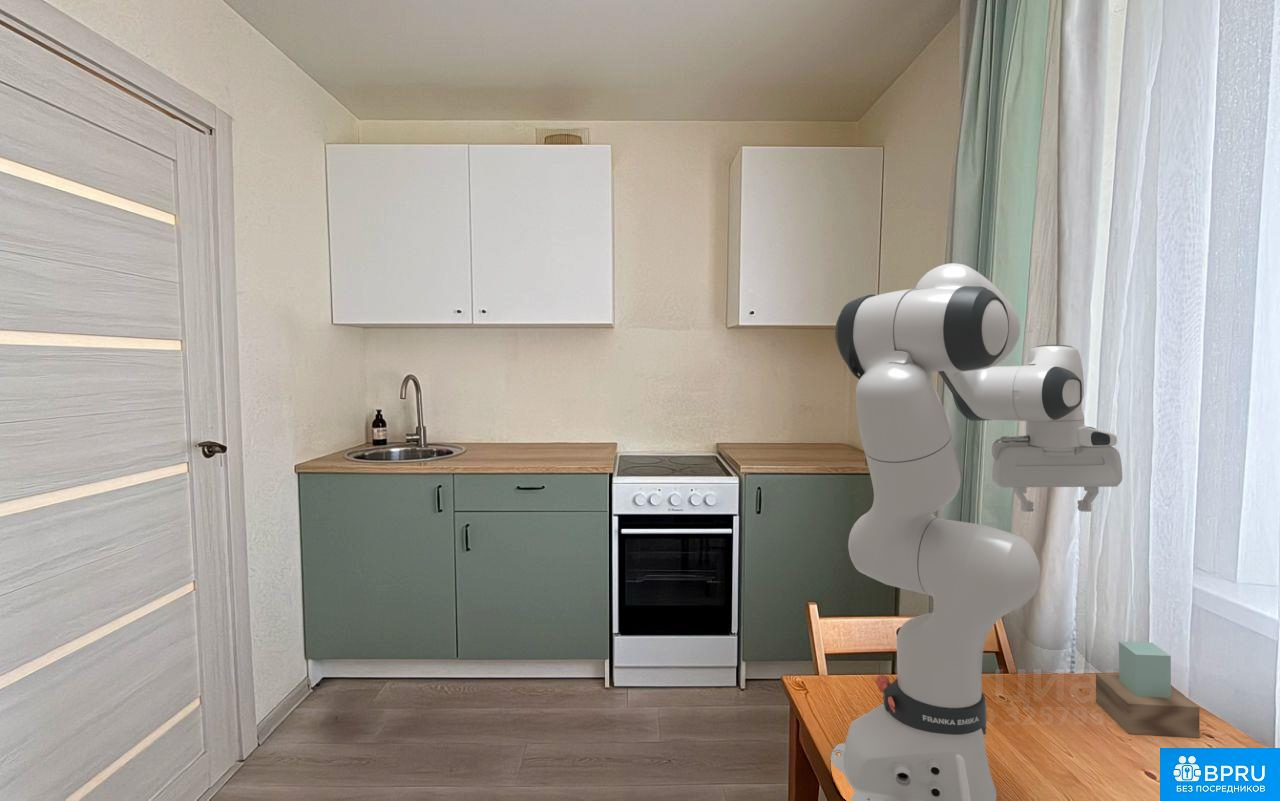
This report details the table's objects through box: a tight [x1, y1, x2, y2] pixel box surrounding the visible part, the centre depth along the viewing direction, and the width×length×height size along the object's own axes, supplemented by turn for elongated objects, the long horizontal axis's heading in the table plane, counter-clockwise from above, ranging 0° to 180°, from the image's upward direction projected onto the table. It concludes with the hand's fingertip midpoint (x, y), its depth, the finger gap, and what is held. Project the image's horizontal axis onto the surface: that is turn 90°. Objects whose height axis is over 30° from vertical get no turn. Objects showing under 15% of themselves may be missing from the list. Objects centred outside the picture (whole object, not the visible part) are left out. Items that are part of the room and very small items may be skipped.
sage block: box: [1118, 641, 1172, 698], centre depth 106 cm, size 5×5×7 cm
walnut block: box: [1095, 673, 1200, 738], centre depth 106 cm, size 10×10×5 cm
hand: (1055, 511), depth 115 cm, fingers open, 8 cm apart
